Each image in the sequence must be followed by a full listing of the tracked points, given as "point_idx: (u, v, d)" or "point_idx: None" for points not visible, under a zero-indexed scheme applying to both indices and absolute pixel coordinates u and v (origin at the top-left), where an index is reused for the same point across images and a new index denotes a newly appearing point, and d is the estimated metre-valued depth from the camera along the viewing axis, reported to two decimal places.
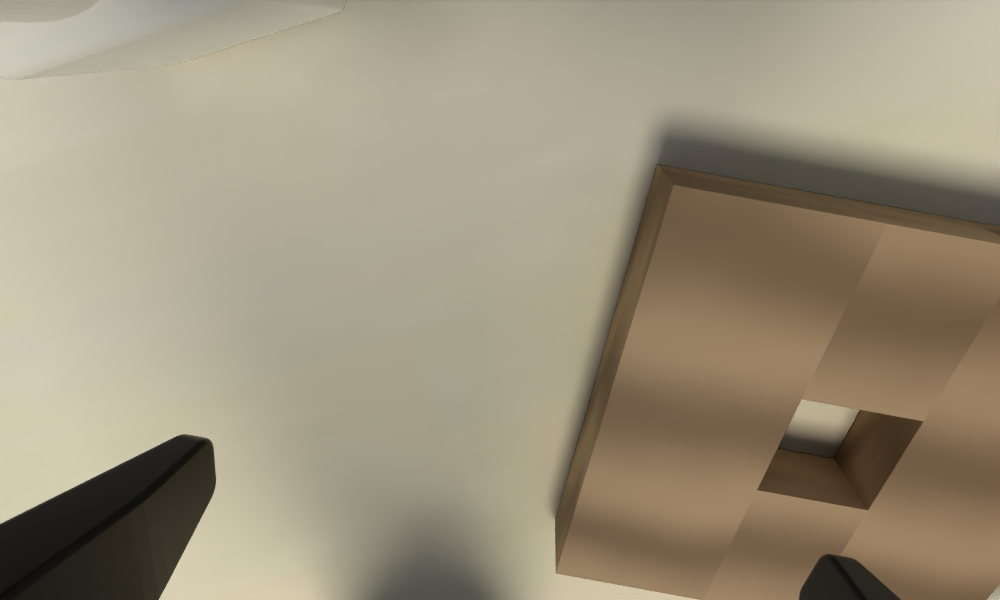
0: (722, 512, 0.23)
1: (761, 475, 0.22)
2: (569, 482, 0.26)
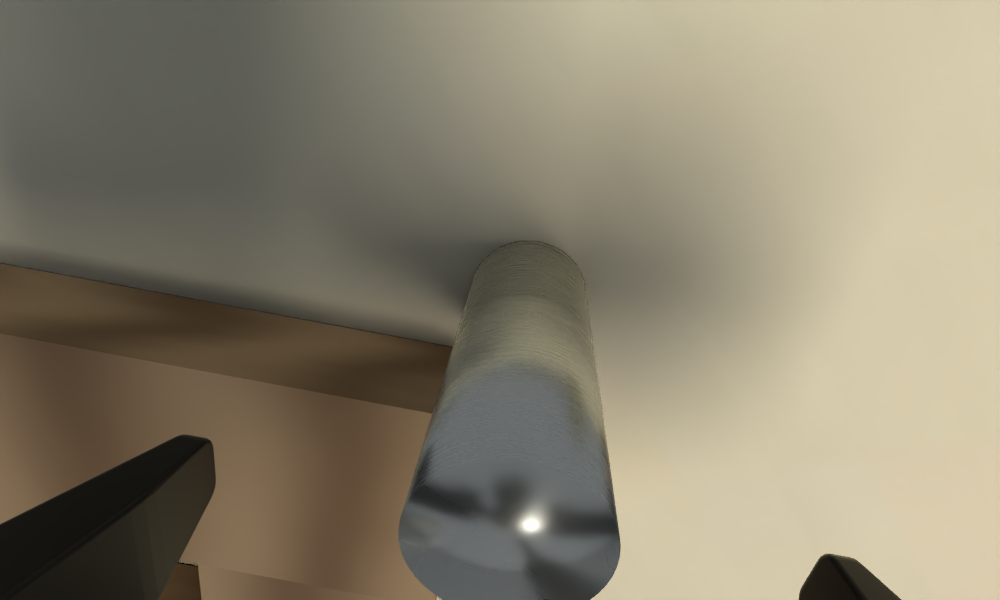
0: None
1: None
2: None
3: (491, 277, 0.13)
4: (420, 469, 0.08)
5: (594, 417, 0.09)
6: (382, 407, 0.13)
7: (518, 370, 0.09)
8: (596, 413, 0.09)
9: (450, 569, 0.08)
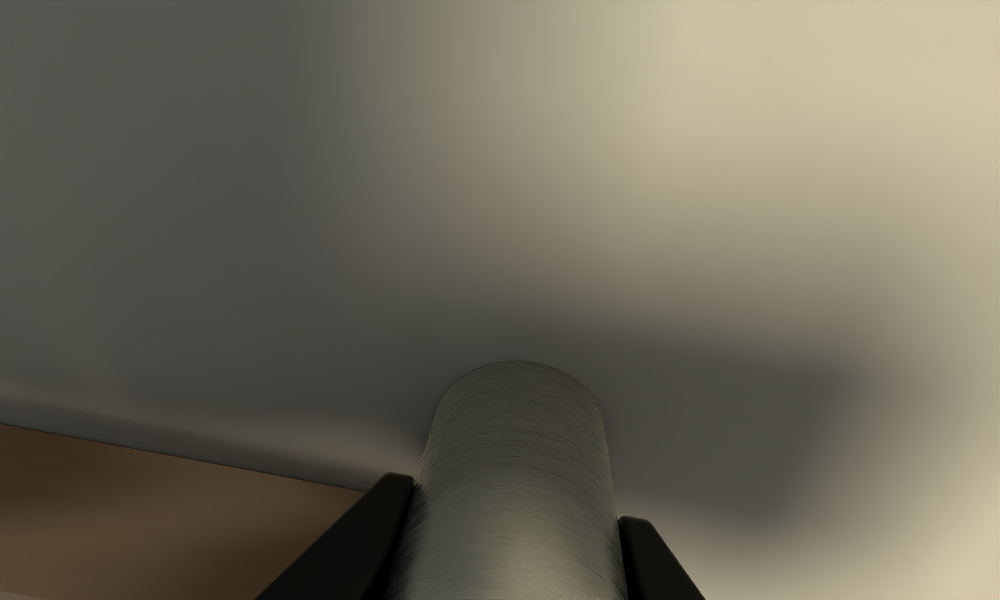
0: None
1: None
2: None
3: (454, 444, 0.08)
4: None
5: None
6: None
7: None
8: None
9: None
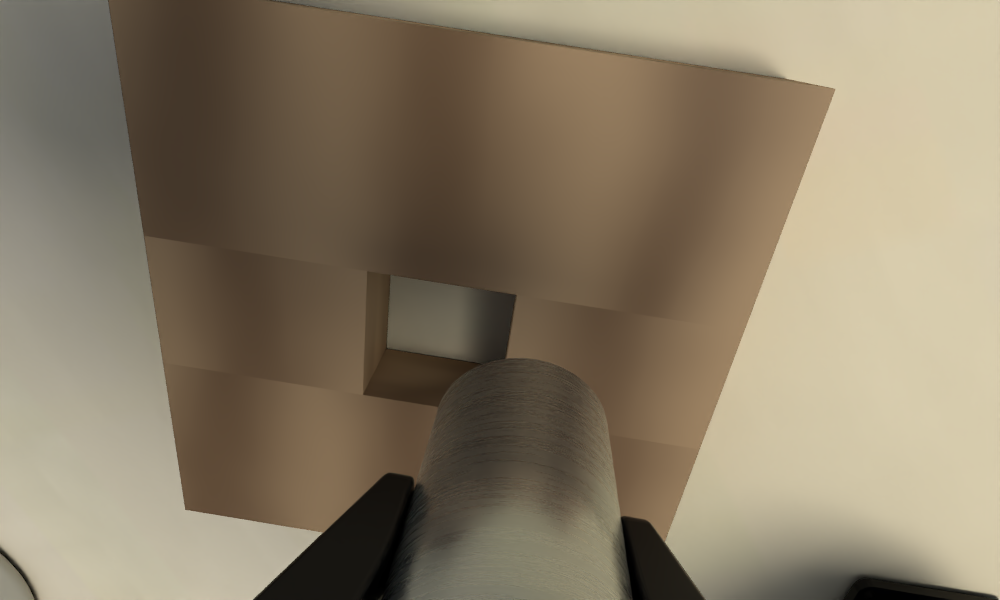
0: None
1: None
2: None
3: (456, 440, 0.08)
4: None
5: None
6: (754, 80, 0.14)
7: None
8: None
9: None
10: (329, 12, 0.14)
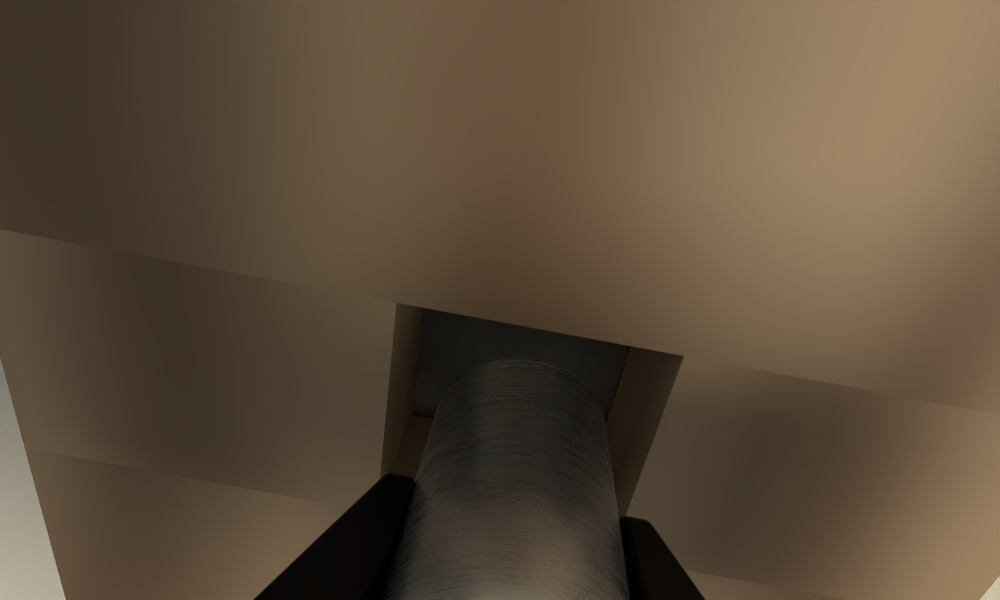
0: None
1: None
2: None
3: (455, 441, 0.08)
4: None
5: None
6: None
7: None
8: None
9: None
10: None
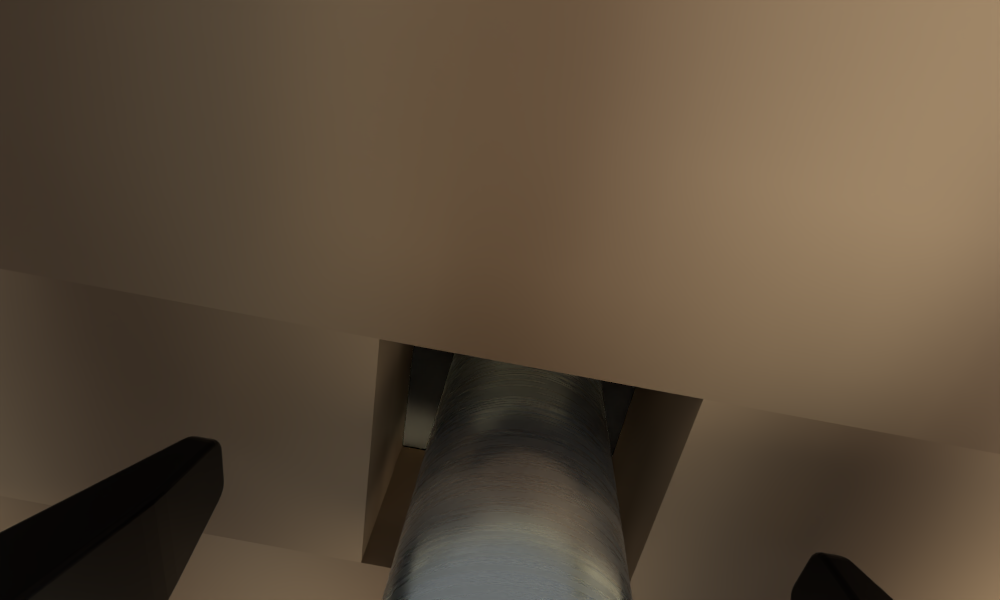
0: None
1: None
2: None
3: (472, 374, 0.09)
4: None
5: None
6: None
7: (505, 597, 0.05)
8: None
9: None
10: None
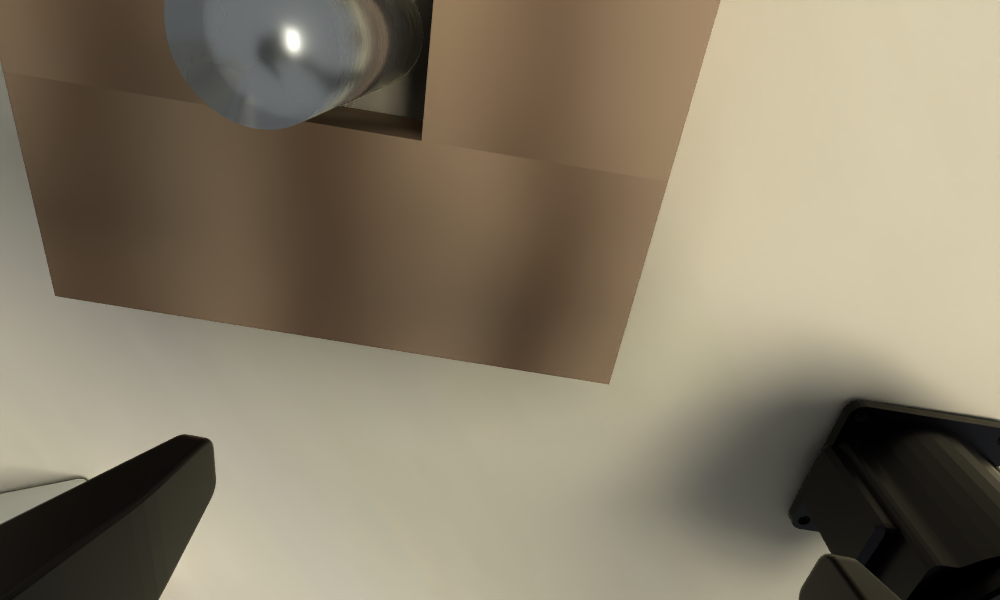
0: (470, 182, 0.16)
1: (392, 140, 0.15)
2: None
3: None
4: None
5: None
6: None
7: None
8: None
9: (213, 72, 0.10)
10: None
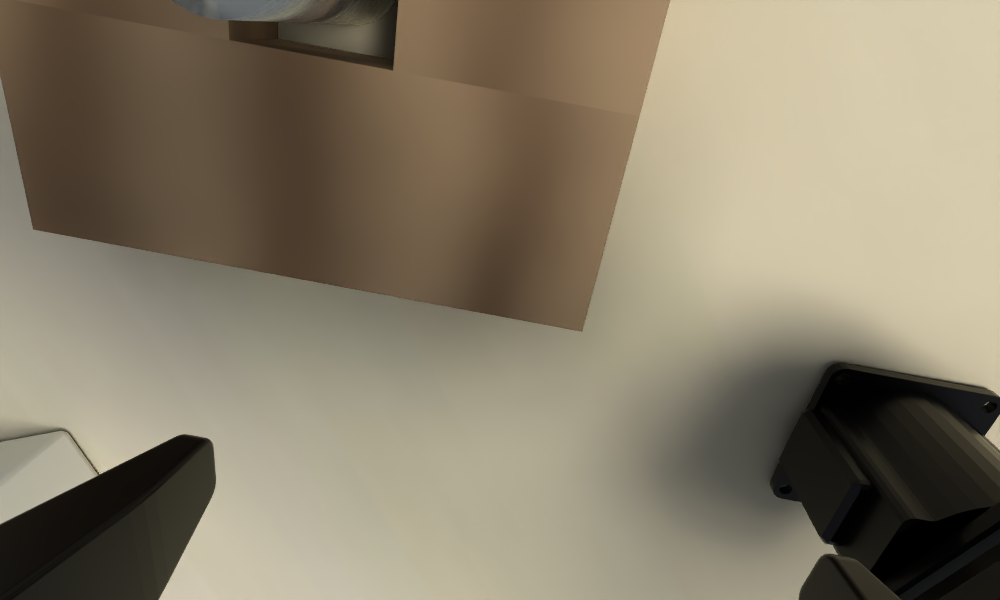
0: (442, 114, 0.16)
1: (364, 69, 0.15)
2: None
3: None
4: None
5: None
6: None
7: None
8: None
9: None
10: None
